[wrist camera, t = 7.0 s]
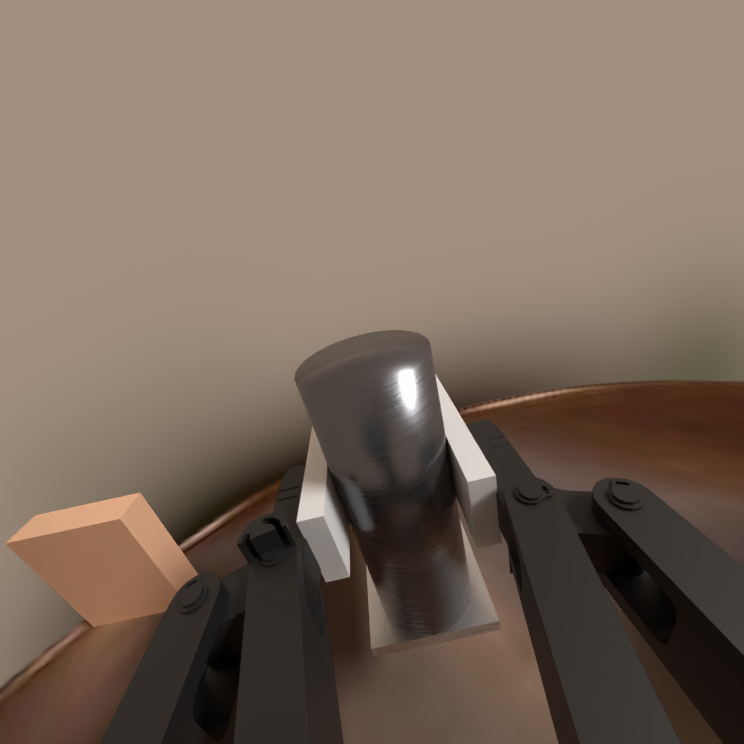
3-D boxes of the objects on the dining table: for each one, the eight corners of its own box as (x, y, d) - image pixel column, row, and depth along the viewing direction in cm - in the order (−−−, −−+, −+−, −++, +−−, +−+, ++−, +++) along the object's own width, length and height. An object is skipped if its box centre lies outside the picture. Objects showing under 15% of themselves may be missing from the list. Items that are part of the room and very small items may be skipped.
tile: (201, 577, 24) (140, 492, 20) (189, 607, 22) (119, 518, 18) (112, 596, 24) (36, 514, 20) (93, 627, 22) (5, 543, 19)
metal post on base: (434, 457, 21) (401, 286, 16) (500, 629, 12) (469, 362, 7) (362, 474, 21) (308, 310, 17) (374, 656, 12) (262, 414, 8)
